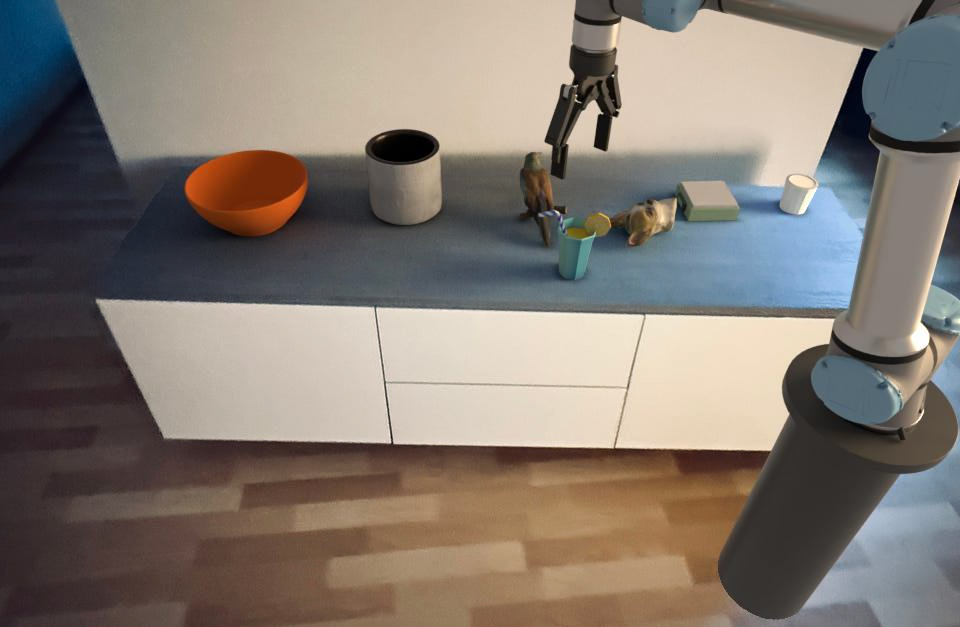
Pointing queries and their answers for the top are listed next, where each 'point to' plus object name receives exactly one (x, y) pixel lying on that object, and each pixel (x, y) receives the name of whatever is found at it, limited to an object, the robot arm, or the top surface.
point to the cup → (577, 241)
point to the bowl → (248, 191)
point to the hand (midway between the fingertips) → (579, 162)
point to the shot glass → (797, 193)
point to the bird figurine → (537, 194)
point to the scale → (706, 201)
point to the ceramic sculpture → (646, 219)
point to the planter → (404, 176)
